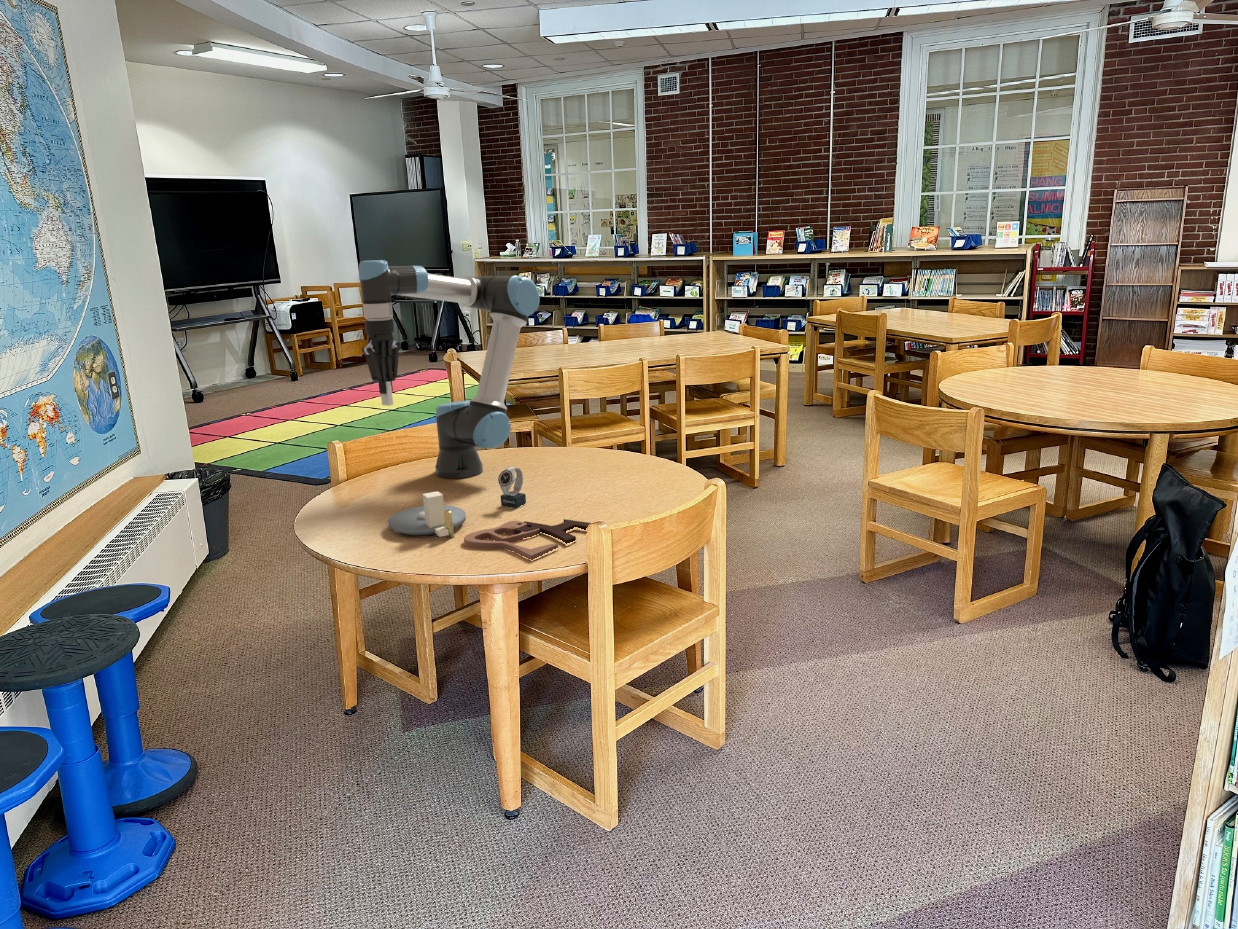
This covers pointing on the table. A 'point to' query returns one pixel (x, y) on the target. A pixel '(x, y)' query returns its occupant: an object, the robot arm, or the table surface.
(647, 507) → the table surface
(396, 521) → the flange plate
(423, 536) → the turntable base
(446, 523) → the gold domed cylinder
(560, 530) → the wood carving
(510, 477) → the watch
